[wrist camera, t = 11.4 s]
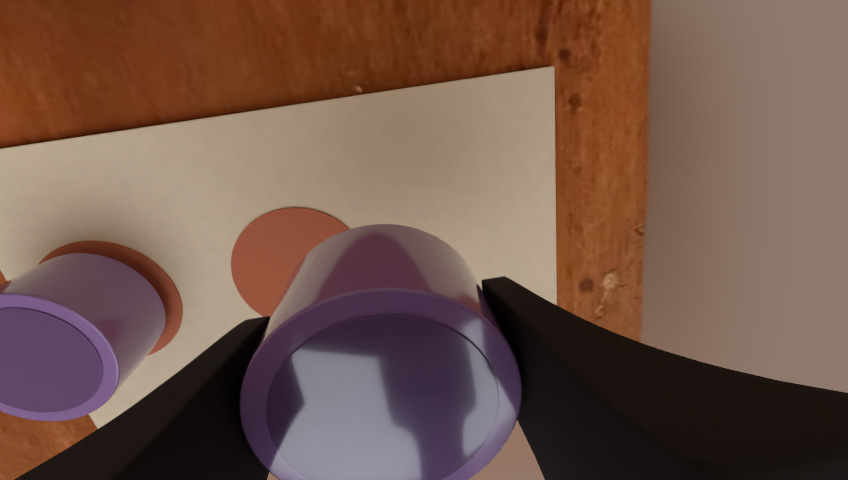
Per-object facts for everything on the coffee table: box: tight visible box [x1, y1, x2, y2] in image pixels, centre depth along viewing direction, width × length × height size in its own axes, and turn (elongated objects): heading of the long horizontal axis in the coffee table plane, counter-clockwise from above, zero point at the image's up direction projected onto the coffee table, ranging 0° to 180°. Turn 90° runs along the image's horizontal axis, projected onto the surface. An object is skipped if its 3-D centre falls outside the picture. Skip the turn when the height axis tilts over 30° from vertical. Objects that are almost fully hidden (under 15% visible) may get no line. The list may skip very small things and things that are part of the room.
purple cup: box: [239, 224, 522, 480], centre depth 9 cm, size 5×5×4 cm
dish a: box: [0, 253, 166, 421], centre depth 15 cm, size 5×5×4 cm
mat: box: [0, 66, 557, 429], centre depth 18 cm, size 24×14×1 cm, turn 98°
